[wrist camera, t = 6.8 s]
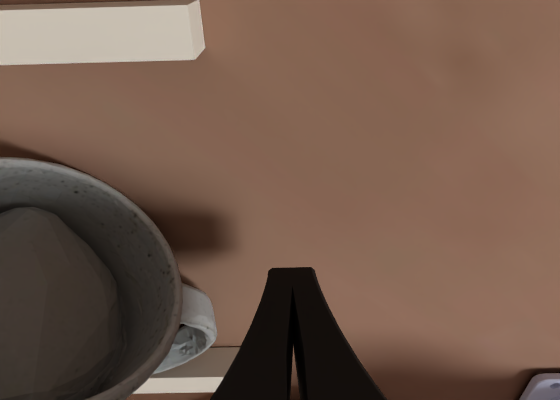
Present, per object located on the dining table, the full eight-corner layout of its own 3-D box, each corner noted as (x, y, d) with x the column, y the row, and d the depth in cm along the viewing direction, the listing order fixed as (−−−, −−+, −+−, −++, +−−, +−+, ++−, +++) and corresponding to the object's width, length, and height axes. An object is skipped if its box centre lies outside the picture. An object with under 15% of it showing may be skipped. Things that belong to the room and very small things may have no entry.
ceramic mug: (-71, 263, 15) (-332, 499, 8) (3, 115, 11) (-339, 320, 5) (160, 363, 19) (102, 574, 12) (264, 275, 15) (258, 503, 9)
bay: (199, -1, 10) (187, 5, 8) (245, 361, 18) (242, 391, 17) (-258, 12, 10) (-337, 19, 9) (1, 366, 18) (-19, 396, 17)
